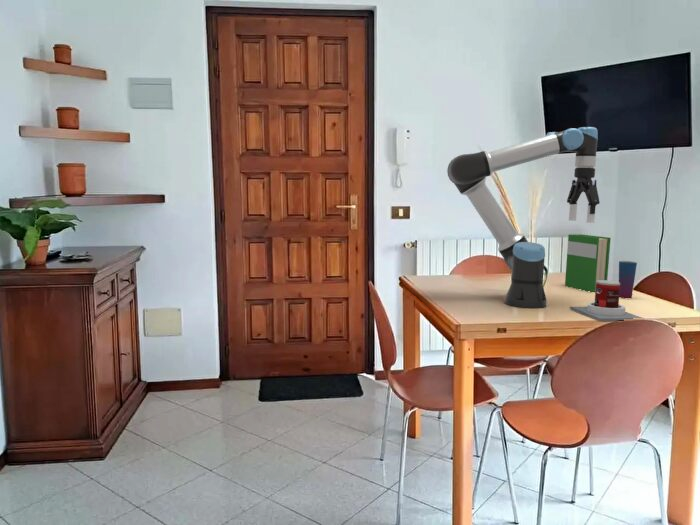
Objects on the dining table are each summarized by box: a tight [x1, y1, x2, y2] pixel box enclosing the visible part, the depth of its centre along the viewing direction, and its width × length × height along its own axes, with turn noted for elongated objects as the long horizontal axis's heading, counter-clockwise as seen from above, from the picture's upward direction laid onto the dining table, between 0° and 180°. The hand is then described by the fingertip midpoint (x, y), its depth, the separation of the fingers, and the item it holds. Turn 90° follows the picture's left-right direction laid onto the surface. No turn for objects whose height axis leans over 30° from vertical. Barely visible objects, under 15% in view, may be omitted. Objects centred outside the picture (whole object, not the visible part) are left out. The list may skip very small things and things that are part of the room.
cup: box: [618, 260, 638, 299], centre depth 251 cm, size 7×7×15 cm
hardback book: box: [564, 233, 611, 293], centre depth 270 cm, size 18×7×24 cm, turn 22°
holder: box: [569, 301, 643, 322], centre depth 215 cm, size 16×20×4 cm
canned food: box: [594, 279, 620, 308], centre depth 214 cm, size 8×8×11 cm
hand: (581, 221), depth 239 cm, fingers open, 13 cm apart
